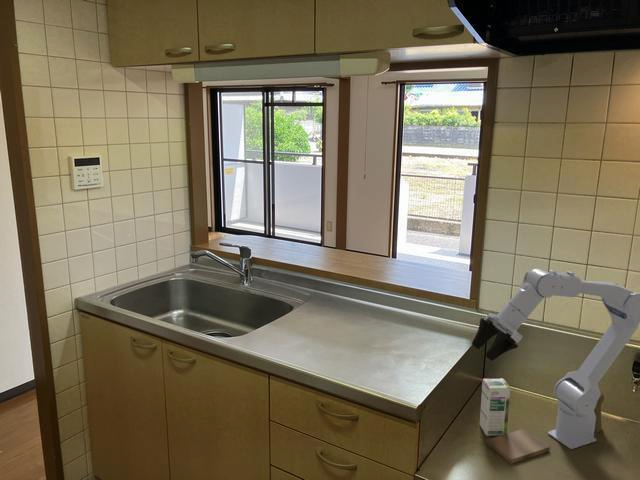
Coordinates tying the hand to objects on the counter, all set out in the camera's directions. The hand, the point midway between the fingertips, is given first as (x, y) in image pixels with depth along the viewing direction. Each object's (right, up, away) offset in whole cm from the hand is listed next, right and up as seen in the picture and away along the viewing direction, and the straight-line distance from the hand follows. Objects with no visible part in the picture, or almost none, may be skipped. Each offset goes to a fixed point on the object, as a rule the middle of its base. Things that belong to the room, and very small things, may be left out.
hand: (481, 352), depth 130 cm
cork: (+36, -25, +17) cm, 47 cm away
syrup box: (+8, -25, +15) cm, 30 cm away
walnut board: (+12, -27, +7) cm, 30 cm away
